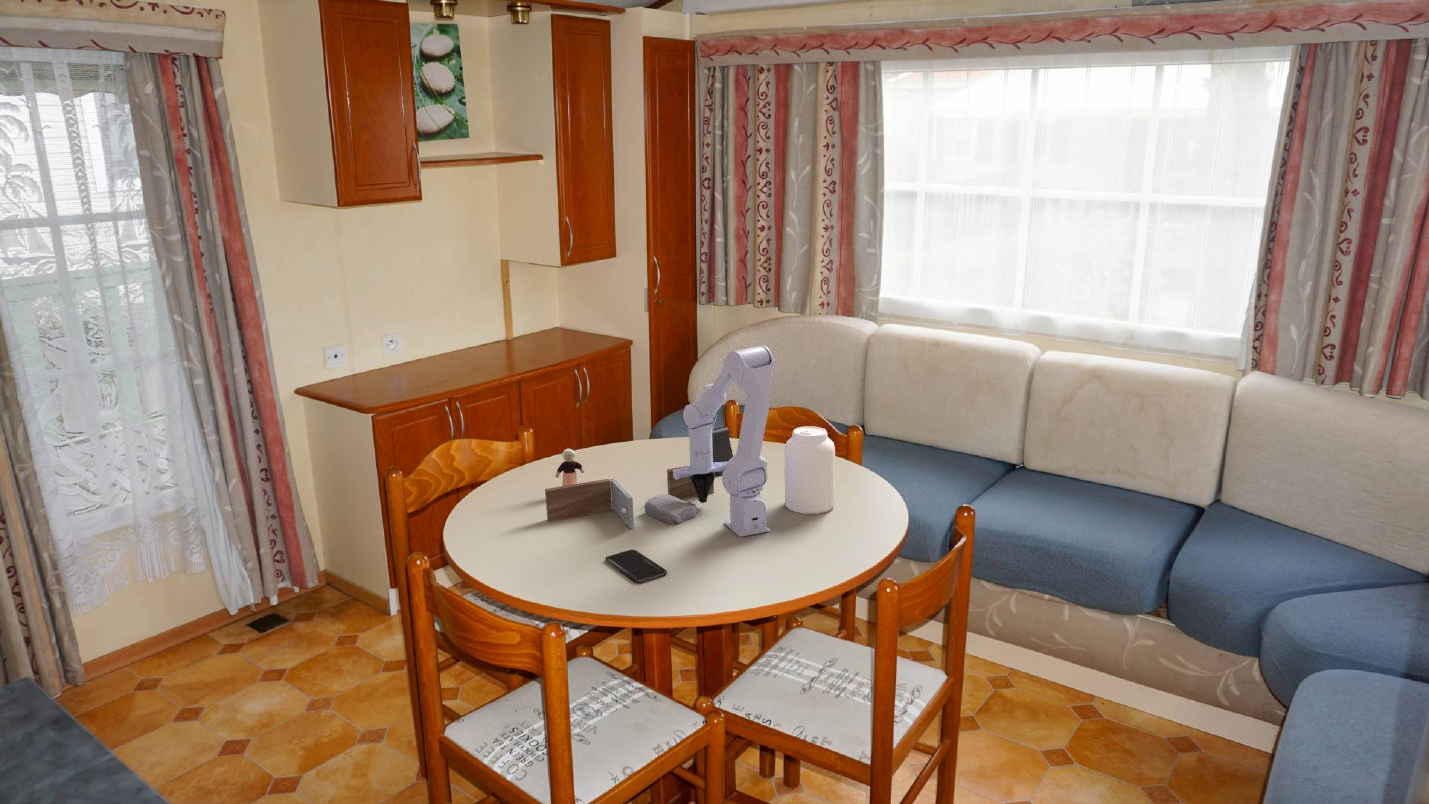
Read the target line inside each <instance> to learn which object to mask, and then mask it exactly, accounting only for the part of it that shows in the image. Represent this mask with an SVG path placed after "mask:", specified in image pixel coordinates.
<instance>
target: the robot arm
mask: <svg viewBox="0 0 1429 804" xmlns="http://www.w3.org/2000/svg"><path fill="white" fill-rule="evenodd" d="M775 365H776V360H775V358H774V356H773V354H772V352H771V350H770V349H769V347H767V346H766V345H764V344H760V345H756V346H753V347H748V348H743V349H738V350H731V351H729V352H727V354H726V356H725V357H724V358H723V367H722V368H721V369H720V372H719V374H718V375H717V377H716V378H715V380H714V382H713V383H709V384H704V386H703V387H702V389H703V390H702V391H701V393H700V394H699V395H698V397H696V398H695V401H694V402H693V403H692V404H687V405H685V407H684V409H683V414H682V415H683V420H684V423H685V424H686V426H687V427H688V440H689V441H688V442H689V445H688V446H689V447H688V448H689V465H685V466H686V467H684V466H682V467H683V468H680V469H676V470H673V477H674V478H675V479H676V480H677V479H680V478H683V477H690V479H691V480H692V482H693V484H694V486H695V489H696V492H697V495H698V496H697V498H698V499H697V500H698V502H700V504H705V503H707V501H708V496H709V494H710V493H709V490H710V487H711V485H712V483H713V481H714V482H715V476H716V475H714V474H713V473H714V472H720V471H724V472H723V474H722V476H721V481H722V487H723V488H724V490H725V491H726V492H727V494H729V510H730V511H729V513H730V515H729V517H730V519H729V520H724V521H723V524H725V526H727V527H728V528H729V529H730V530H731V531H732V532H733V533H735V535H737V536H738V537H739V538H740V537H741V538H742V537H747V536H753V535H758V534H762V533H767V532H771V529H770V528H769V527H768V526H767V506H766V504H765V502H764V501H763V499H762V497H761V492H762V491H763V487H764V486H765V485H766V483H767V480H768V471H767V466H768V462H767V460H766V459H765V457H763V455H761V451H762V447H763V441H764V435H765V430H766V425H767V420H768V416H769V410H770V404H771V399H772V395H773V382H772V381H773V375H774V369H775V367H776V366H775ZM734 384H736V386H737V387H738V388H739V389H740V390H741V392H745V393H746V397H745V398H746V399H745V403H744V409H743V415H742V419H741V425H740V426H741V427H740V430H739V431H740V432H739V438H738V443H737V448H736V453H735V454H733V457H732V458H731V459H730V460H729V461H728V462H727V461H726V462H713V450H712V431H713V429H715V423H716V421H717V419H718V418H717V417H718V414H717V413H718V411H719V410H720V408H722V405H723V404H724V403H725V402H726V399H727V391H728V390H729V389H730V388H731V387H732V386H733V385H734ZM708 493H709V494H708Z"/></svg>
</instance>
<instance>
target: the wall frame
mask: <svg viewBox="0 0 1429 804" xmlns="http://www.w3.org/2000/svg"><path fill="white" fill-rule="evenodd" d="M686 466H687V465H685V466H678V467H672V468H667V469H666V472H667V473H666V474H667V475H666V478H667V495H671V496H674V497H676V498H678V499H680V500H682V499H685V498H692V497H698V495H697V492H696V489H695V486H694V484H693V482H692V480H691V479H690V477H683V478H680V479H677V480H676V479H675V478H674V477H673V470H676V469H680V468H683V467H686ZM714 482H715V480H714V481H713V483H712V485H711V487H710V490H709V493H708V495H710V494H714V493H715V489H714V488H715V486H714V484H715V483H714ZM544 493H545V494H544V495H545V506H546V507H545V508H546V519H547V521H548V522H554V521H555V522H556V521H559V520H566V519H571V518H576V517H583V516H588V515H589V516H590V515H595V514H599V513H606V512H612V511H613V508H612V496H611V479H609V478H604V479H598V480H592V481H586V482H580V483H577V484H573V485H567V486H555V487H549V488H544Z"/></svg>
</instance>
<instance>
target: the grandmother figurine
mask: <svg viewBox="0 0 1429 804" xmlns="http://www.w3.org/2000/svg"><path fill="white" fill-rule="evenodd" d="M575 456H576V452H575V451H574V450H573V449H572V448H566V449H564V450H563V451H562V458H563V460H564V461H562V462H561V464H560V465H559V467H558V468H557V469H556V472H555V475H554V476H555V478H557V479H558V478H559V477H560V475H561V473H562V472H563V473H562V483H561V484H562V486H567V485H573V484H578V478H577V471H576V470H579V471H580V473H581V474H584V473H585V470H584V468H583V465H582V464H581V463H579V462H578V461H575V460H574V458H575Z"/></svg>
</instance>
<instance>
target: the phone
mask: <svg viewBox="0 0 1429 804" xmlns="http://www.w3.org/2000/svg"><path fill="white" fill-rule="evenodd" d="M604 561H605V563H606V564H608V566H610V567H611V568H613V569H615V570H616V571H617V572H619V573H620V574H621V575H623V576H624V577H626V578H627V579H629V580H630V581H631V582H633V583H634V584H637V585H638V584H639V585H640V584H644V583H647V582H652V581H653V580H657V579H660V578H663V577H666V576H667V572H668V571H667V569H665V568H663V566H660V565H659V564H658V563H656V562H654V560H652V559H650V558H649V557H647V556H646V555H644V554H642V553H640V551H638V550H637V549H628V550H626V551H621V552H617V553H613V554H611V555H607V556H605V560H604Z"/></svg>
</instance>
